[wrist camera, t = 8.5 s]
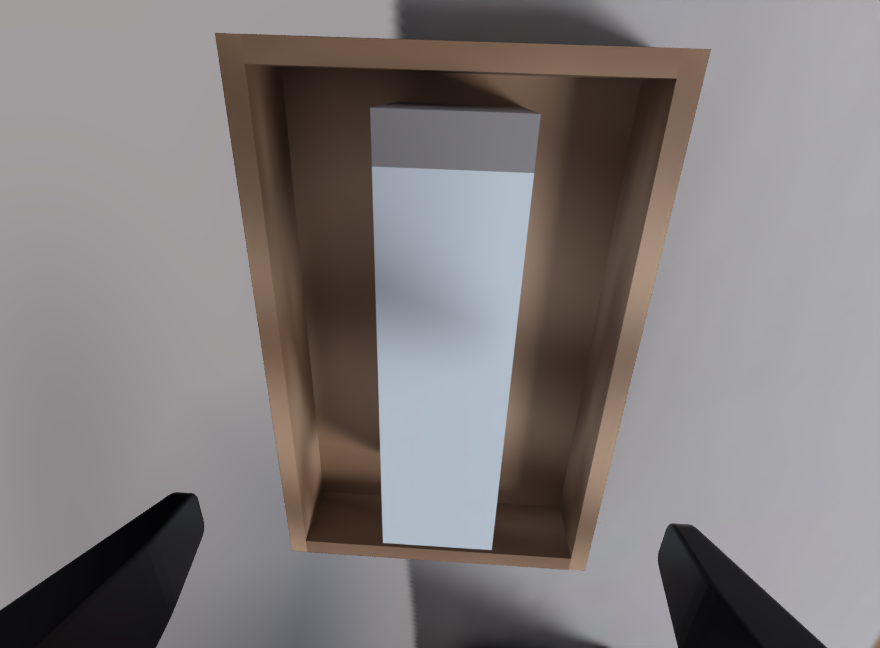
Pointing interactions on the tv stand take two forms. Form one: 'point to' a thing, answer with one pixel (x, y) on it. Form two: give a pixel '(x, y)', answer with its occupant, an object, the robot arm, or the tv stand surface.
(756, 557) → the tv stand surface
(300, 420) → the open brown box
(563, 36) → the tv stand surface
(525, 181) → the long pale blue block
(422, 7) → the tv stand surface
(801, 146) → the tv stand surface
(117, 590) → the robot arm
